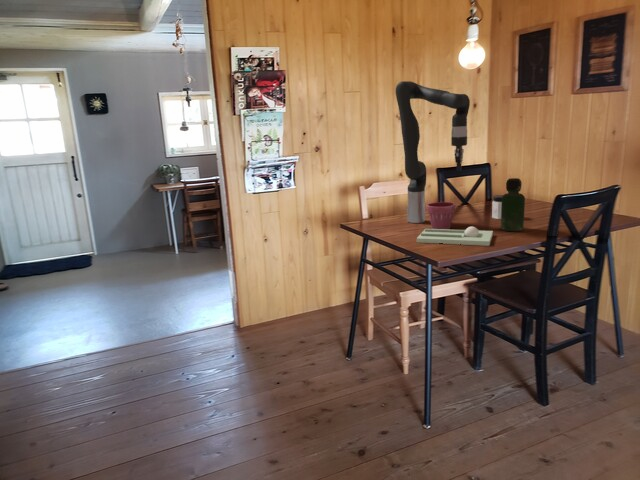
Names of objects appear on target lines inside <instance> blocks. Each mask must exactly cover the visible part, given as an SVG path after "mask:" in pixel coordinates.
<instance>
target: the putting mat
mask: <svg viewBox="0 0 640 480" xmlns="http://www.w3.org/2000/svg"><path fill="white" fill-rule="evenodd" d="M465 231H466V229H432V228H424V229H423V231H422V232H421V233H420V234H419V235H418V236H417V237H416V243H417V244H418V243H423V244H439V243H443V244H444V245H460V244H461V245H463V246H469V245H470V246H484V247H488V246H489V247H490V245H491V241H492V240H493V239H492V238H493V235H494V231H493V230H478V232H479V234H478V236H477V238H475V237H466V236H465ZM443 244H442V245H443ZM461 245H460V246H461Z"/></svg>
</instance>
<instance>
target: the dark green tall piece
mask: <svg viewBox="0 0 640 480" xmlns="http://www.w3.org/2000/svg"><path fill="white" fill-rule="evenodd" d="M505 189H506V192H507V193H505V194H502V195H503V196H502V207H501V219H500V229H501V230H502V231H505V232H521V231H524V228H525V226H524V225H525V205H526V198H525V196H524V194H522V193H520V192H521V190H522V179H520V178H517V177H515V178H514V177H513V178H512V177H511V178H508V179H507V180H506V183H505Z"/></svg>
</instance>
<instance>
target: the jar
mask: <svg viewBox="0 0 640 480" xmlns="http://www.w3.org/2000/svg"><path fill="white" fill-rule="evenodd" d="M503 195H504V194H495V195H493V197H492V202H491V203H492V204H491V210H492V211H491V218H492V219H496V220H501V207H502V196H503Z"/></svg>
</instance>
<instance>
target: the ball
mask: <svg viewBox="0 0 640 480" xmlns="http://www.w3.org/2000/svg"><path fill="white" fill-rule="evenodd" d="M465 230H466V231H465V236H466V237H475V238H477V236H478V234H479V232H478V231H479V229H478V228H477V227H475V226H468V227H467V228H465Z"/></svg>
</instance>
